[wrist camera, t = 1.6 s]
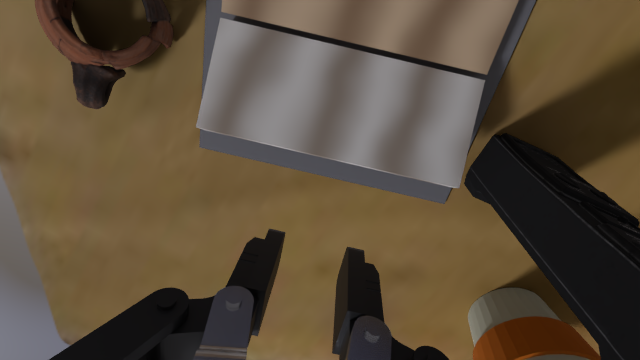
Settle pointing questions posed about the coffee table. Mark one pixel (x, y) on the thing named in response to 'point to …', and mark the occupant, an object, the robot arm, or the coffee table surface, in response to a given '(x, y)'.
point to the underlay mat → (340, 168)
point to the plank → (339, 103)
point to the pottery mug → (88, 61)
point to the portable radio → (568, 237)
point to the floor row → (396, 25)
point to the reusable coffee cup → (522, 329)
